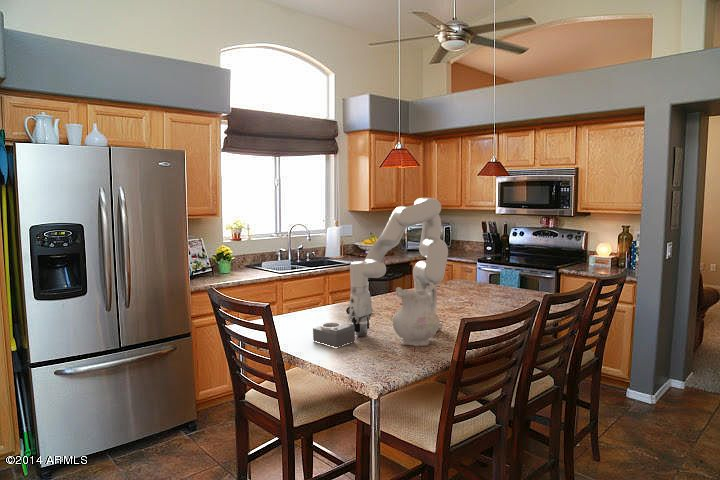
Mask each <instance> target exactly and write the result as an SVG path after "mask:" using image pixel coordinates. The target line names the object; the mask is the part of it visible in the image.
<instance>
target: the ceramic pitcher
mask: <svg viewBox="0 0 720 480" xmlns="http://www.w3.org/2000/svg"><path fill="white" fill-rule="evenodd" d="M431 291H432V293H431ZM395 294H396V296H397V297H398V298H400V299H401V308H400V309H399V310H398V311H396V312H395V313H394V314H393V316H392V326H393V329H394V331H395V334H397V336H398V337H399V338H401V339H402V340H401V341H400V342H401V343H400V342H399V345H405V346H406V345H408V346H413V347H423V346H428V345H429V344H430V342H431V341H430V340H429V339H431V338H433V337H434V336H435V335H436V333H437V332H438V331H439V330H438V328H439V324H440V317H439V316H438V314H437V312H436V313H435V312H434V308H435V305H436V306H437V304H436V303H437V300H438V289H437V286H436V285H434V284H433V282H431V281H430V282H428V283H427V288H426V289H425V290H417V291H415V290H409V289H407V288H405V289H403V288H402V287H398V286H397V287H396V288H395ZM431 297H432V302H431V305H430V306H429V302H430V299H431ZM437 330H438V331H437Z"/></svg>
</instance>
